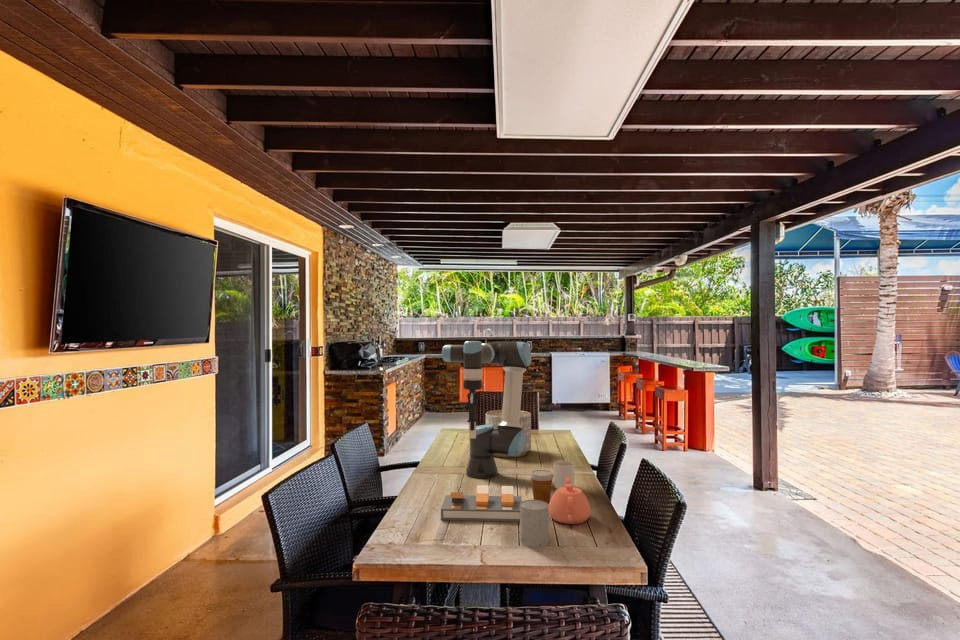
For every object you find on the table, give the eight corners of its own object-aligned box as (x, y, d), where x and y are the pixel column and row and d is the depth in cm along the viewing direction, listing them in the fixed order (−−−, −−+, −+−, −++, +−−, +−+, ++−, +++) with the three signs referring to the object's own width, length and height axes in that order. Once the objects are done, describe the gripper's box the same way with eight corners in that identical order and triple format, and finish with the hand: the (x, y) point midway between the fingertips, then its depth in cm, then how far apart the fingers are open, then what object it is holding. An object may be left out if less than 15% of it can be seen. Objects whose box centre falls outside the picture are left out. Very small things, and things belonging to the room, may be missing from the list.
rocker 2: (477, 489, 205) (477, 485, 205) (488, 490, 205) (488, 485, 204) (475, 506, 196) (475, 501, 195) (487, 506, 195) (487, 501, 195)
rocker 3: (501, 490, 205) (501, 485, 204) (513, 490, 204) (513, 486, 204) (501, 506, 195) (501, 502, 194) (513, 506, 195) (513, 502, 194)
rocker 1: (453, 497, 205) (453, 492, 206) (464, 498, 205) (464, 492, 205) (450, 497, 196) (450, 492, 196) (462, 498, 195) (462, 492, 196)
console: (445, 505, 209) (445, 491, 209) (521, 506, 207) (521, 493, 207) (440, 520, 192) (440, 505, 192) (522, 521, 191) (522, 507, 191)
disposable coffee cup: (555, 499, 215) (555, 470, 215) (550, 507, 206) (550, 476, 206) (532, 497, 218) (532, 468, 218) (527, 504, 209) (527, 474, 209)
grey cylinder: (517, 536, 178) (517, 500, 178) (545, 535, 179) (545, 499, 179) (522, 548, 168) (522, 509, 168) (551, 547, 169) (551, 509, 169)
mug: (574, 492, 224) (574, 466, 225) (553, 491, 226) (553, 465, 226) (575, 484, 236) (575, 459, 236) (555, 483, 238) (555, 458, 238)
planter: (532, 458, 281) (532, 417, 281) (485, 458, 281) (485, 417, 282) (529, 447, 307) (529, 409, 307) (485, 447, 307) (485, 409, 307)
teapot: (547, 506, 207) (547, 475, 207) (588, 508, 205) (588, 476, 205) (548, 528, 185) (548, 492, 185) (593, 530, 183) (593, 494, 184)
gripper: (464, 377, 218) (464, 434, 217) (462, 380, 205) (461, 441, 204) (482, 377, 217) (482, 434, 217) (481, 380, 204) (480, 441, 204)
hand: (472, 437), depth 211 cm, fingers closed
